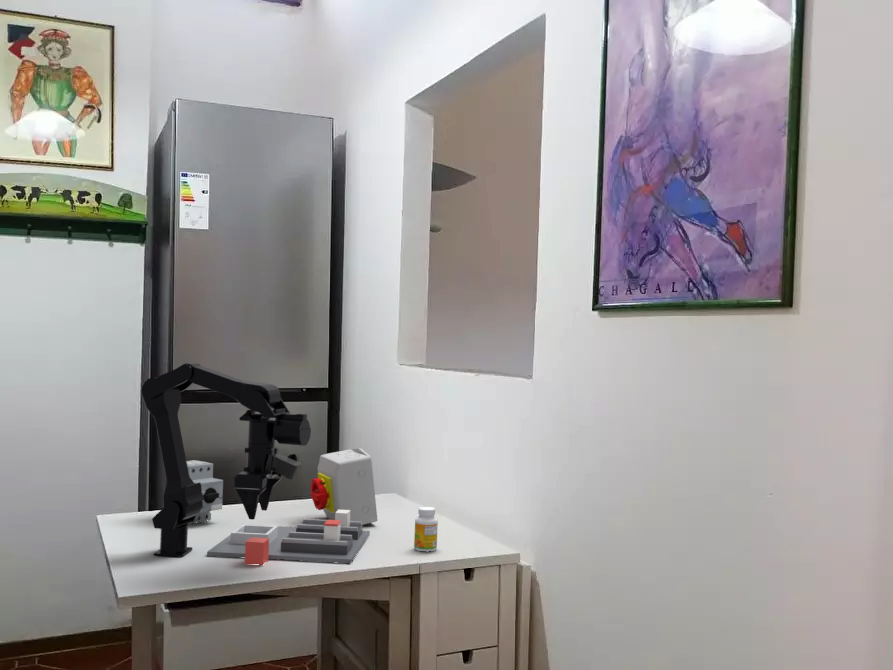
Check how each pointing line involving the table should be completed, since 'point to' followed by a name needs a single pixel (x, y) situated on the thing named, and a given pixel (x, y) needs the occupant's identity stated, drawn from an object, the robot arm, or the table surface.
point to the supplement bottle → (426, 530)
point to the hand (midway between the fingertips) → (258, 514)
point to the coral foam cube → (256, 550)
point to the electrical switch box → (345, 485)
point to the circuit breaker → (206, 488)
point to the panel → (296, 542)
